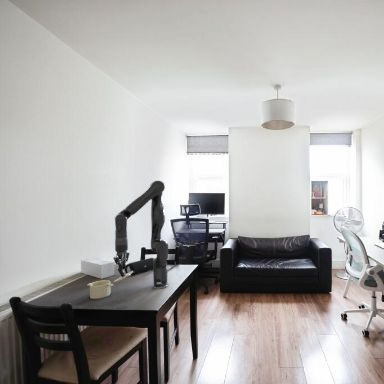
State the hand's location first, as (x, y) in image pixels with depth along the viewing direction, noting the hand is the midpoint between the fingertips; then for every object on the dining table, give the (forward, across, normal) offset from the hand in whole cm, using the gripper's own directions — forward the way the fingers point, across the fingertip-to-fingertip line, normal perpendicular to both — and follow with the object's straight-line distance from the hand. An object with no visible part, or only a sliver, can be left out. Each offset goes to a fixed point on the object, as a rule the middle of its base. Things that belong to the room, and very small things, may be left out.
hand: (122, 269), depth 175 cm
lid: (+5, +1, -1) cm, 5 cm away
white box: (+16, +38, +50) cm, 65 cm away
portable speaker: (+17, +47, +15) cm, 52 cm away
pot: (+16, -5, +12) cm, 21 cm away
